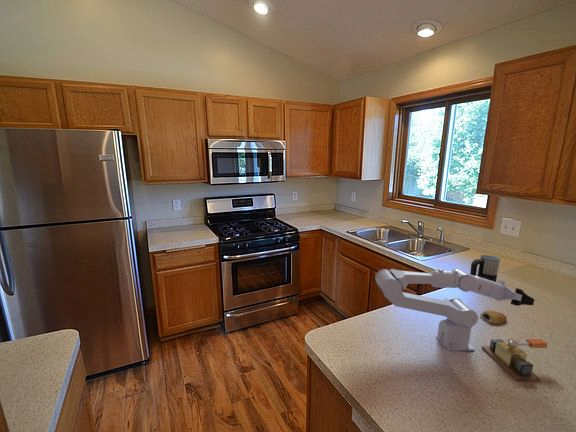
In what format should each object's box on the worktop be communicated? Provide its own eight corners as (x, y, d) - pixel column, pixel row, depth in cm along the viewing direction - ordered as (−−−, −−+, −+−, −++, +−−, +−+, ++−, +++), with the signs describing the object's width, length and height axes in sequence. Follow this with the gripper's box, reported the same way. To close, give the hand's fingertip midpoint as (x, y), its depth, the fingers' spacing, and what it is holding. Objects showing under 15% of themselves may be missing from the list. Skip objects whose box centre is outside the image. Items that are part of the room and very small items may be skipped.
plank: (517, 380, 83) (517, 378, 83) (481, 348, 98) (482, 346, 98) (539, 380, 84) (540, 378, 84) (500, 348, 98) (501, 346, 98)
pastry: (496, 314, 121) (498, 306, 120) (511, 323, 115) (513, 315, 114) (478, 316, 119) (479, 308, 119) (492, 325, 113) (494, 317, 112)
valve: (518, 376, 84) (521, 360, 83) (486, 348, 97) (489, 334, 96) (534, 376, 85) (537, 360, 84) (500, 348, 97) (503, 334, 96)
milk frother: (484, 278, 160) (488, 254, 157) (513, 290, 145) (518, 263, 142) (465, 281, 155) (469, 256, 152) (493, 294, 141) (498, 266, 138)
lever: (511, 348, 88) (512, 343, 88) (504, 343, 91) (505, 338, 91) (547, 348, 89) (548, 343, 89) (539, 343, 91) (540, 338, 91)
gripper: (506, 280, 89) (545, 292, 90) (474, 273, 104) (508, 283, 104) (500, 301, 89) (540, 314, 89) (469, 291, 103) (503, 302, 104)
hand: (522, 299), depth 97 cm, fingers open, 7 cm apart
